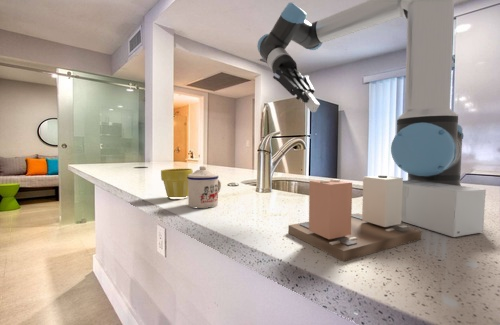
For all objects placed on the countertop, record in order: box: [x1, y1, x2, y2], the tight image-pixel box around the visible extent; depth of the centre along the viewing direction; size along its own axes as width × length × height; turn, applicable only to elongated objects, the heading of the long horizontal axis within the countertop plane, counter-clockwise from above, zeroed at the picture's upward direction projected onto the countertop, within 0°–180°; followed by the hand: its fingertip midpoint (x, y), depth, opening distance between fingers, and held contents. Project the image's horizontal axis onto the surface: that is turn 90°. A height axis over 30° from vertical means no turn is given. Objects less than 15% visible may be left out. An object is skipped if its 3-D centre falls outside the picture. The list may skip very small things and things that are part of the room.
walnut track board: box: [287, 212, 422, 262], centre depth 48 cm, size 20×14×2 cm
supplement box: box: [401, 179, 487, 238], centre depth 55 cm, size 9×9×15 cm
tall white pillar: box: [361, 175, 404, 227], centre depth 50 cm, size 5×5×9 cm
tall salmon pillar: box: [308, 178, 353, 239], centre depth 44 cm, size 5×5×9 cm
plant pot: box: [160, 168, 194, 198], centre depth 85 cm, size 10×10×10 cm
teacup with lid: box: [187, 165, 222, 209], centre depth 75 cm, size 12×9×12 cm
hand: (315, 108), depth 69 cm, fingers closed
